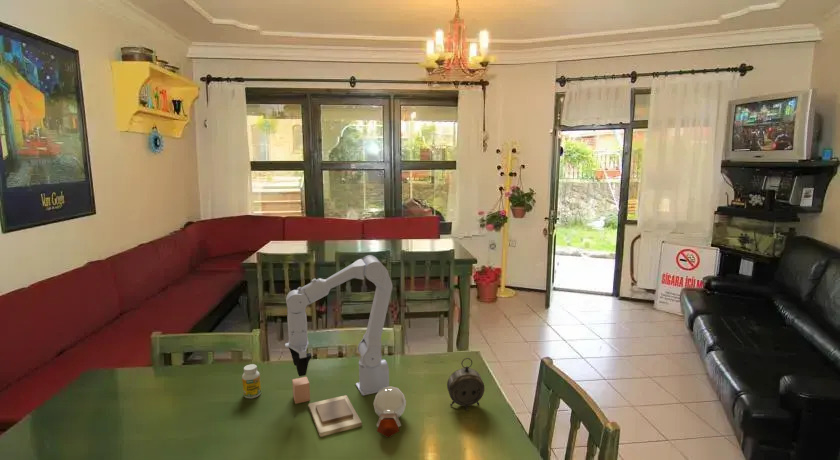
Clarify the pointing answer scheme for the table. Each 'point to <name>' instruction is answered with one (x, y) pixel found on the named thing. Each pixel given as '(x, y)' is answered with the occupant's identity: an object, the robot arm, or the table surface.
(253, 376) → the supplement bottle
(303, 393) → the block
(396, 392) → the potion bottle
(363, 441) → the table surface
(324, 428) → the base board
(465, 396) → the alarm clock
